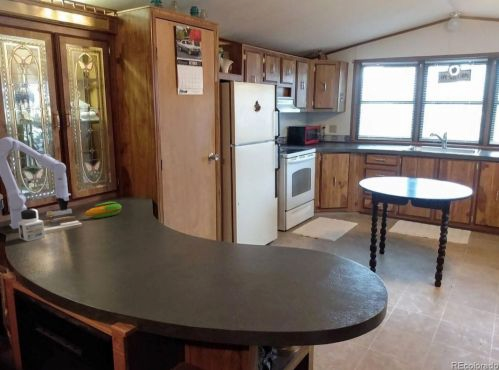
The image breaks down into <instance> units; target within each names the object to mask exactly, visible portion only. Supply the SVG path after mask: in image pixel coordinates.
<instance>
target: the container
mask: <svg viewBox="0 0 499 370" xmlns="http://www.w3.org/2000/svg"><path fill="white" fill-rule="evenodd" d="M21 217H22V221H20V222H18V227H19V228H18V233H19V239H21V240H24V241H26V242H30V241H31V242H32V241H35V240H38V239H43V238H45V237H46V234H45V233H44V224H43V221H44V220H42V219H39V211H38V210H37V209H35V208H27V210H23V211H22V212H21Z"/></svg>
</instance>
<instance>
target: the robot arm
mask: <svg viewBox="0 0 499 370" xmlns="http://www.w3.org/2000/svg"><path fill="white" fill-rule="evenodd" d="M11 151H13V152H22V153H23V154H26V155H28V156H29V157H31V158H33V159H36V160H37V164H39V165H41V166H42V167H44V168H46V169H48V170H49V171H52V173H53V175H54V177H53V178H54V179H53V180H54V189H55V190H54V191H55V201H56V202H57V204H58V206H59V210H65V209H68V205H69V202H70V198H69V196H71V195H72V194H71V193H69V190H68V189H69V188H68V178H67V166H66V164H65V163H64V162H61V161H60V160H58V159H55V158H54V157H51V155H50V154H49V153H48V154H47V153H40V152H39V151H36V150H35V149H34V148H32V147H30V146H29V145H27V144H25V143H24V142H22V141H20V140H18V139H15V138H13V137H12V136H6V137H2V138H0V177H1V180H2V182H3V184H4V187H5V190H6V192H7V193H6V195H7V199H8V203H7V204H8V207H9V215H10V222H11V223H9V226H10V227H11V228H12V229H13V230H14V229H19V227H18V222H20V221H22V217H21V212H22V211H23V210H27V209H28V207H27V206H26V205H25V204H26V202H27V197H26V196H25V195H24V194H23V193H22V191H21V189H20V188H19V185H18V184H17V181H16V178H15V176H14V174H13V172H12V169H11V167H10V165H9V161H8V159H7V157H8V155H9V154H10V152H11Z"/></svg>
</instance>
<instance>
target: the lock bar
mask: <svg viewBox="0 0 499 370" xmlns="http://www.w3.org/2000/svg"><path fill="white" fill-rule="evenodd" d="M68 214H69V215H71V214H73V209H72V208H67V209H65V210H60V209H59V210H50V211H48V210H47V211H46V218H48V217H53V218H54V217H57V216H64V215H68Z"/></svg>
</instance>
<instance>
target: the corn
mask: <svg viewBox="0 0 499 370" xmlns="http://www.w3.org/2000/svg"><path fill="white" fill-rule="evenodd" d="M94 206H95V207H92V208H90V209H88V210H86V211H85V213H84V215H85V216H88V217H93V219H102V218H108V217H112V216H116V215H118V214H119V213H120V212H121V211H122V205H121V204H120V203H118V202H116V201H107V202H106V201H105V202H102V203H98V204H94Z"/></svg>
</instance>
